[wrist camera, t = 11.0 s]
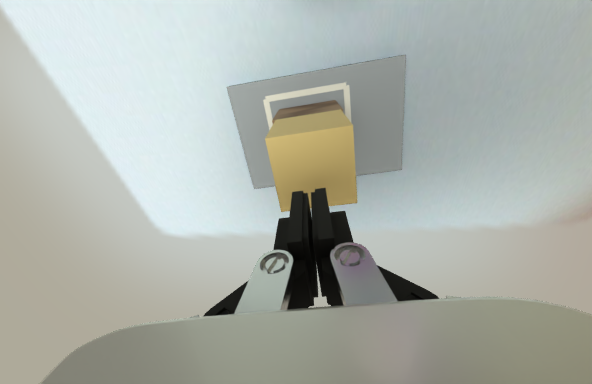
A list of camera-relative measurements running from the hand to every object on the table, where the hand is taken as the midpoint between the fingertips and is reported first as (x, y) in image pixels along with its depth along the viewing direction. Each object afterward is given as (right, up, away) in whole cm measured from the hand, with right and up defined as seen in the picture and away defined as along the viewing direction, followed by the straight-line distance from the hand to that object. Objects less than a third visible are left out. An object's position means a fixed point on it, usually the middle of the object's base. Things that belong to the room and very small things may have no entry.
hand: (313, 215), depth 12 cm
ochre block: (+1, +5, +9) cm, 11 cm away
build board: (+2, +8, +16) cm, 18 cm away
